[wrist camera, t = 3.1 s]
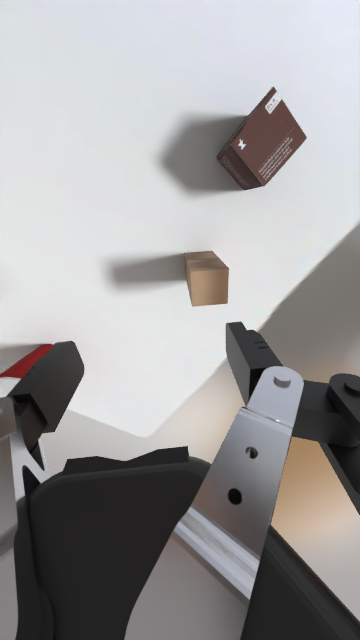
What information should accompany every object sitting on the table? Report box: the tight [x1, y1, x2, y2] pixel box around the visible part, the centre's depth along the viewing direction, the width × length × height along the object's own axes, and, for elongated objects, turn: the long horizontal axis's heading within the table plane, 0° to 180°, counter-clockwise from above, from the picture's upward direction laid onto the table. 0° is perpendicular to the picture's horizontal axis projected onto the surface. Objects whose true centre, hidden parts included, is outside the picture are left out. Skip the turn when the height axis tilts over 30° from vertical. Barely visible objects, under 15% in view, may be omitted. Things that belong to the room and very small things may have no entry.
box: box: [217, 87, 307, 190], centre depth 26 cm, size 6×6×7 cm
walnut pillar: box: [185, 251, 229, 306], centre depth 31 cm, size 4×4×11 cm
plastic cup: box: [0, 344, 54, 398], centre depth 38 cm, size 11×11×12 cm
